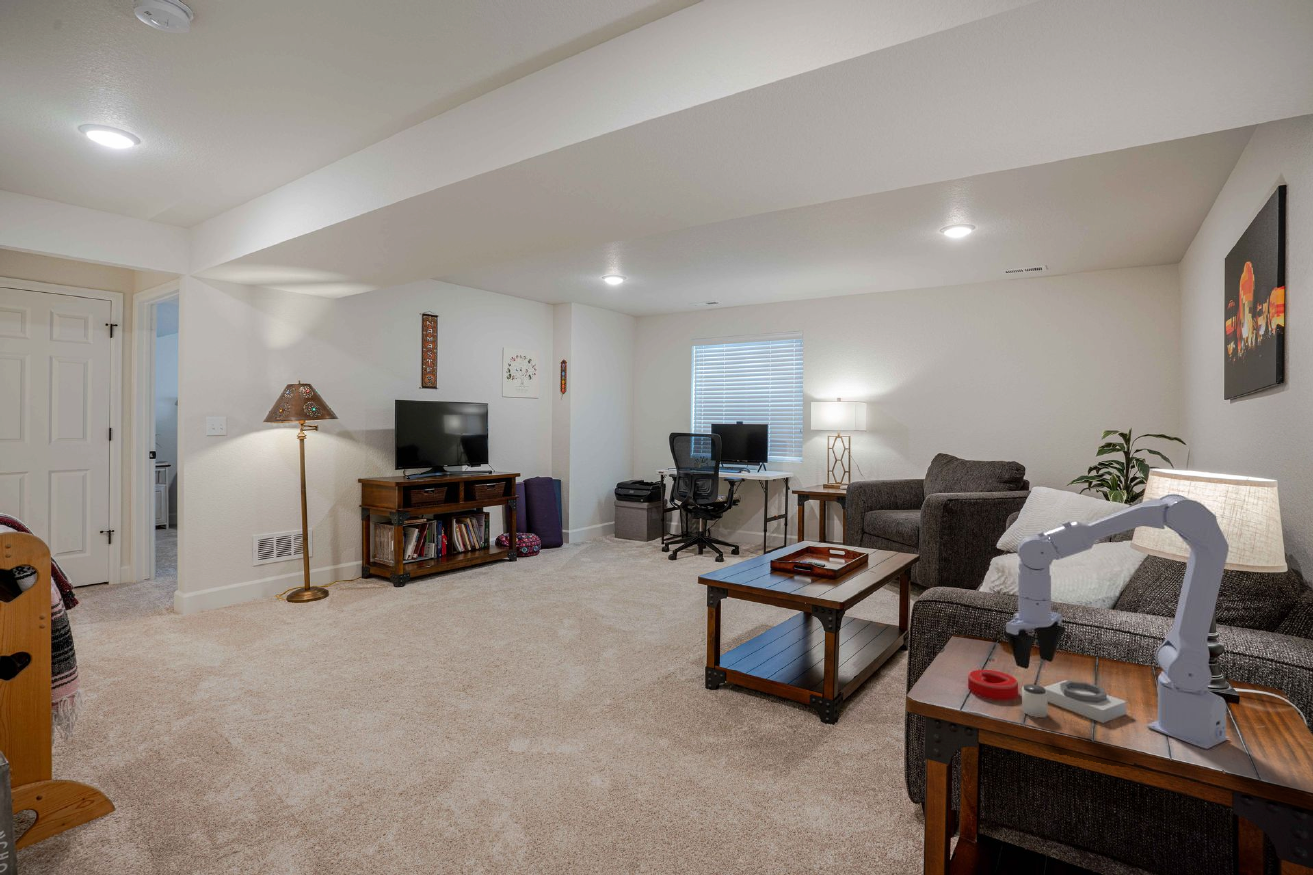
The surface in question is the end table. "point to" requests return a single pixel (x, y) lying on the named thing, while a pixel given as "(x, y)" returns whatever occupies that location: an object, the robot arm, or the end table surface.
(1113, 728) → the end table surface
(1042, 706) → the lens
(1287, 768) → the end table surface
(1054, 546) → the robot arm
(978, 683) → the decorative ornament
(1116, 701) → the plate with octagonal ring
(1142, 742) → the end table surface
